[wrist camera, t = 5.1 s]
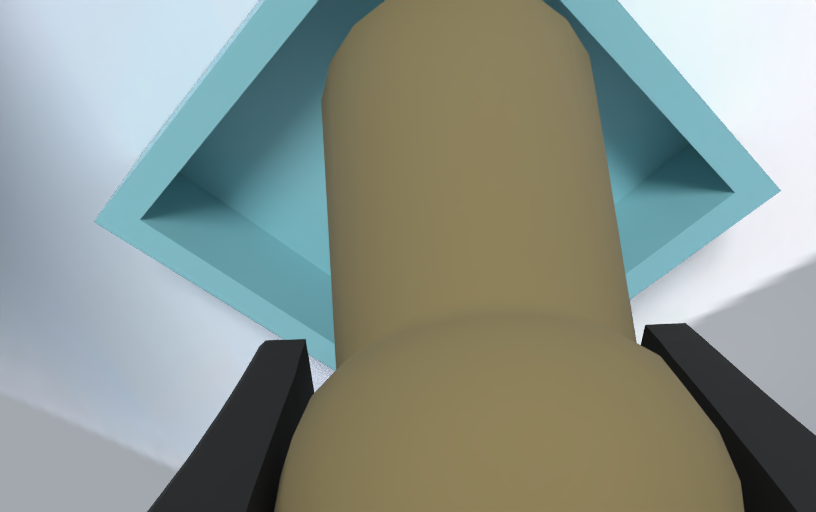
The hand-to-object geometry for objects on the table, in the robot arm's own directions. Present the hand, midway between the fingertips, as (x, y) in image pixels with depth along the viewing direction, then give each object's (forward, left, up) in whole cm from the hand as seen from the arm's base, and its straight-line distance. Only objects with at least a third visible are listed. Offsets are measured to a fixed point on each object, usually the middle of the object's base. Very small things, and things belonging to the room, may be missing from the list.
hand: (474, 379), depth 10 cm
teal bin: (0, +1, -10) cm, 10 cm away
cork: (+1, -1, -7) cm, 7 cm away
